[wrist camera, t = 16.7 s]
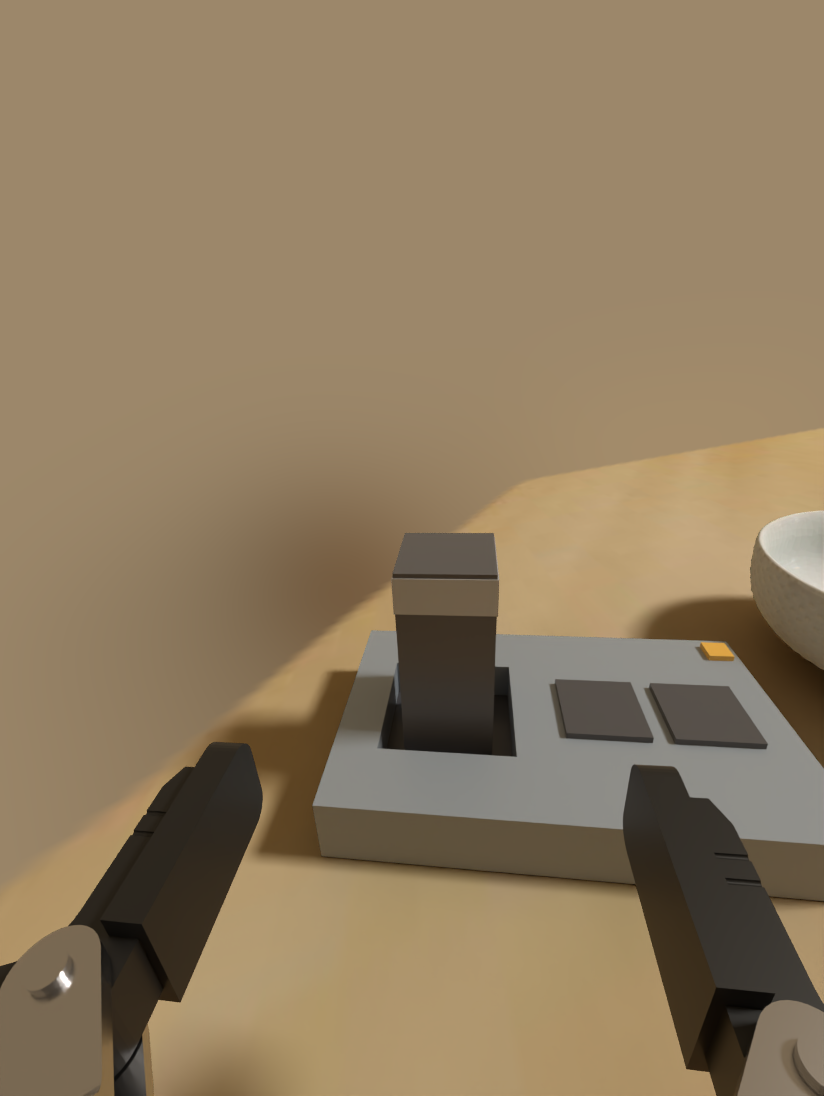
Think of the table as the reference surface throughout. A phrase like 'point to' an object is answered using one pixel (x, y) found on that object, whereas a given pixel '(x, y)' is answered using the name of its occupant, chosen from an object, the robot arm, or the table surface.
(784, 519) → the cereal bowl
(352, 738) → the power strip
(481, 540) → the plug
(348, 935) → the table surface
